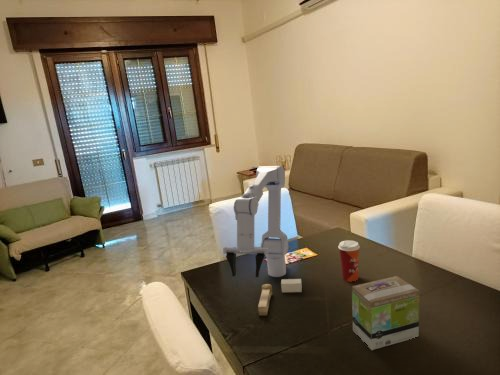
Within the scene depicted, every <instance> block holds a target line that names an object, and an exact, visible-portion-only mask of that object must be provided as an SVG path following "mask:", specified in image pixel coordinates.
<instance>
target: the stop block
mask: <svg viewBox="0 0 500 375" xmlns="http://www.w3.org/2000/svg"><path fill="white" fill-rule="evenodd" d="M302 285H303V284H302V278H288V279H287V278H284V279H282V278H281V281H280V286H281V293H302V289H303V287H302Z"/></svg>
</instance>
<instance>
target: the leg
mask: <svg viewBox="0 0 500 375" xmlns="http://www.w3.org/2000/svg"><path fill="white" fill-rule="evenodd" d="M273 295H274V294H273V286H272V284H270V283H265V284H262V285H261V294H260V296H259V302H258V304H257V309H258V316H268V312H269V307H270V303H271V302H270V301H271V297H272V296H273Z"/></svg>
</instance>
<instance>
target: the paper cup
mask: <svg viewBox="0 0 500 375" xmlns="http://www.w3.org/2000/svg"><path fill="white" fill-rule="evenodd" d="M337 247H338V249H339V256H340V267H341V273H342V274H341V275H342V279H343V281H345V282H347V281H348V283H353V282H352V281H355V282H357V281H358V280H359V267H360V266H359V264H360V263H359V262H360V248H361V246H360V244H359V242H358V241H356V240H342V241H340V242H339V244H338V246H337ZM356 280H357V281H356Z"/></svg>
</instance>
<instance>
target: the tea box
mask: <svg viewBox="0 0 500 375" xmlns="http://www.w3.org/2000/svg"><path fill="white" fill-rule="evenodd" d="M351 307H352V310H351V312H352V331H353V332H354V333H355V334H356V336H357V335H358V336H359V337H360V338H361V339H360V338H359V337H358V336H357V337H358V338H359V339H360V340H361V341H362V342H363V343H364V342H365V343H366V344H367V345H368V346H367V345H366V344H365V343H364V344H365V345H366V346H367V347H368V348H369V350H370V351H375V350H377V349H381V348H384V347H388V346H391V345H395V344H398V343H402V342H405V341H409V339H410V340H413V339H412V338H414V339H416V338H415V337H418V336H419V332H420V330H419V329H420V290H419V289H418V288H416V287H414V286H413V285H412V284H410V283H409V282H407V281H405V280H404V279H402V278H401V277H399V276H398V275H395V276H390V277H386V278H381V279H377V280H372V281H368V282H365V283H364V282H363V283H359V284H355V285H352V286H351ZM418 338H419V337H418Z"/></svg>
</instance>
